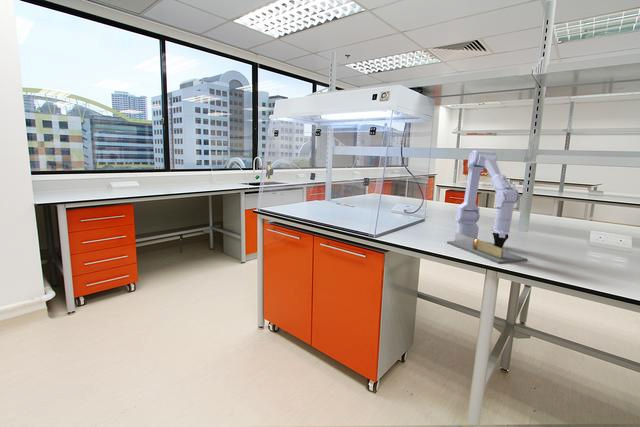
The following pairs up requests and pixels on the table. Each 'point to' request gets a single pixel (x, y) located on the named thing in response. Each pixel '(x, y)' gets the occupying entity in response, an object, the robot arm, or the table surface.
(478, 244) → the swing leaf
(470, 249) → the board
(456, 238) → the fixed leaf
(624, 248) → the table surface
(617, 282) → the table surface
